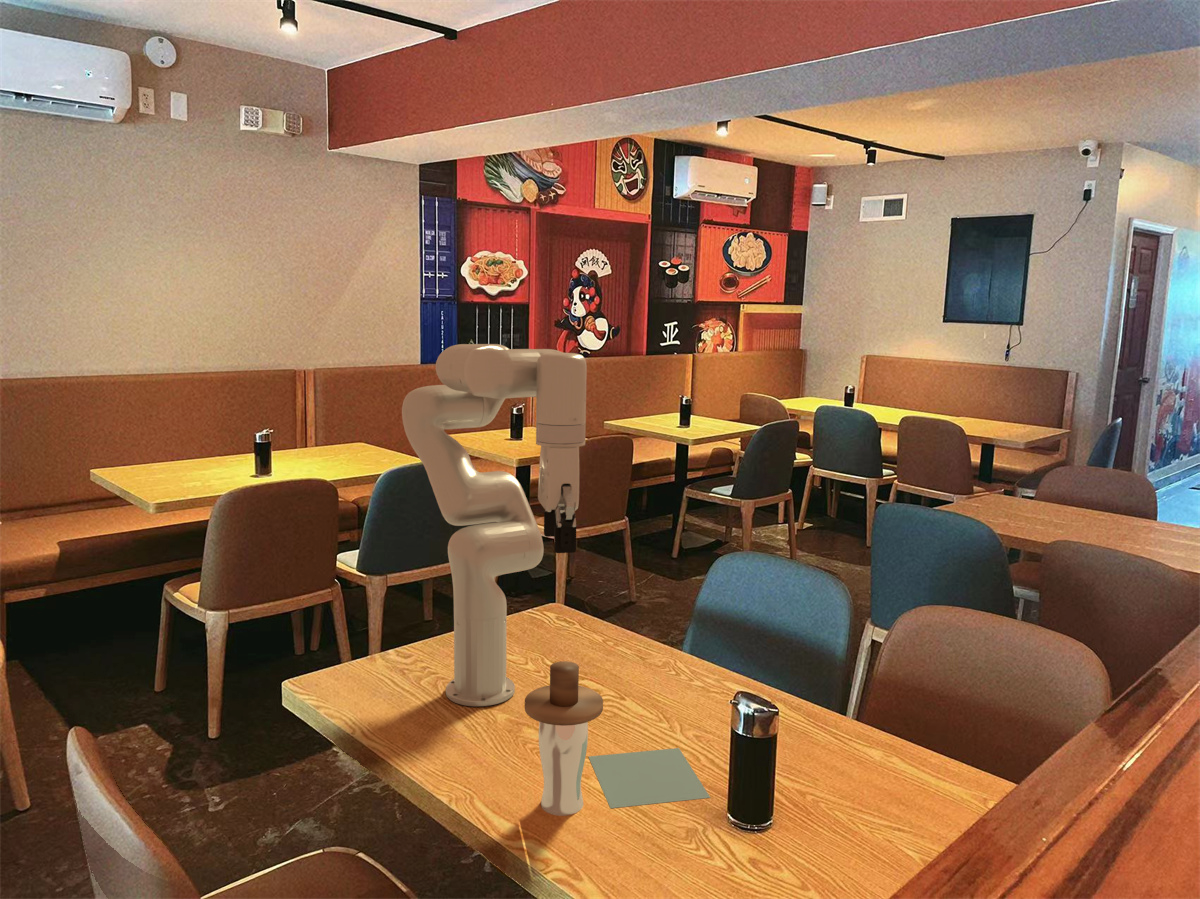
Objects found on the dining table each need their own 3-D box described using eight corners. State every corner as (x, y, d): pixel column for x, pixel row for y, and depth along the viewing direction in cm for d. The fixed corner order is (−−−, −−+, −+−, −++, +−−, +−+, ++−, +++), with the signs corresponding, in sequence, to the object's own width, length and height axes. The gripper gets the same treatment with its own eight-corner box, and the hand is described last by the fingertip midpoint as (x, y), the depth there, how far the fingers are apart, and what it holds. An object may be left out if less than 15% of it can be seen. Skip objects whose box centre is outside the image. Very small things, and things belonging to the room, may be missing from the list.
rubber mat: (588, 758, 141) (588, 756, 141) (678, 750, 144) (678, 747, 144) (610, 810, 126) (610, 808, 126) (710, 800, 130) (710, 797, 130)
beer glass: (580, 822, 123) (582, 721, 121) (532, 816, 125) (533, 715, 122) (591, 796, 130) (593, 699, 128) (544, 790, 131) (546, 694, 129)
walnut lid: (519, 693, 129) (519, 654, 128) (593, 688, 131) (594, 649, 130) (531, 728, 118) (531, 686, 117) (611, 721, 121) (612, 680, 120)
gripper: (528, 427, 142) (527, 531, 145) (545, 443, 126) (544, 560, 129) (574, 426, 144) (572, 529, 147) (597, 442, 127) (594, 558, 130)
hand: (559, 543), depth 138 cm, fingers open, 9 cm apart
